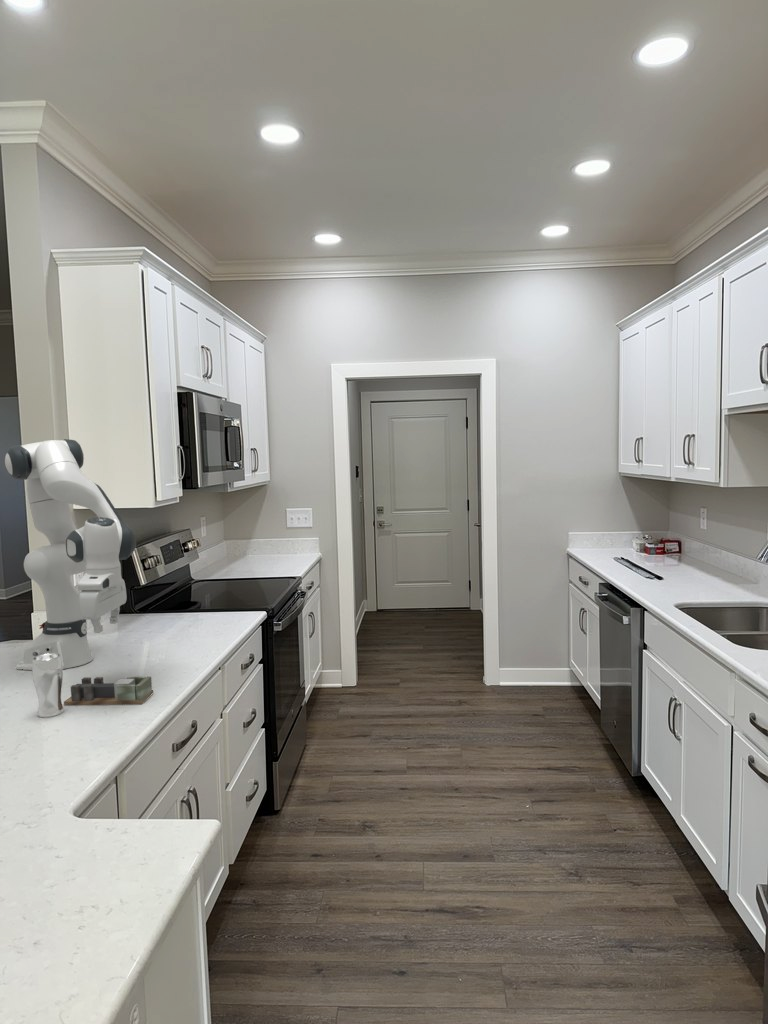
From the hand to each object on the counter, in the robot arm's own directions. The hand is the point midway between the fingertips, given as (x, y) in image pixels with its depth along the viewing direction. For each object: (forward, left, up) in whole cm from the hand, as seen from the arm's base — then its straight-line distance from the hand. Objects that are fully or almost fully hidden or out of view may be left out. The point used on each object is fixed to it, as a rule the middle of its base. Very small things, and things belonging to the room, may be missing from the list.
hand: (106, 627), depth 186 cm
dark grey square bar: (-2, -2, -19) cm, 19 cm away
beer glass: (-11, -11, -20) cm, 25 cm away
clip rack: (0, -2, -20) cm, 20 cm away
